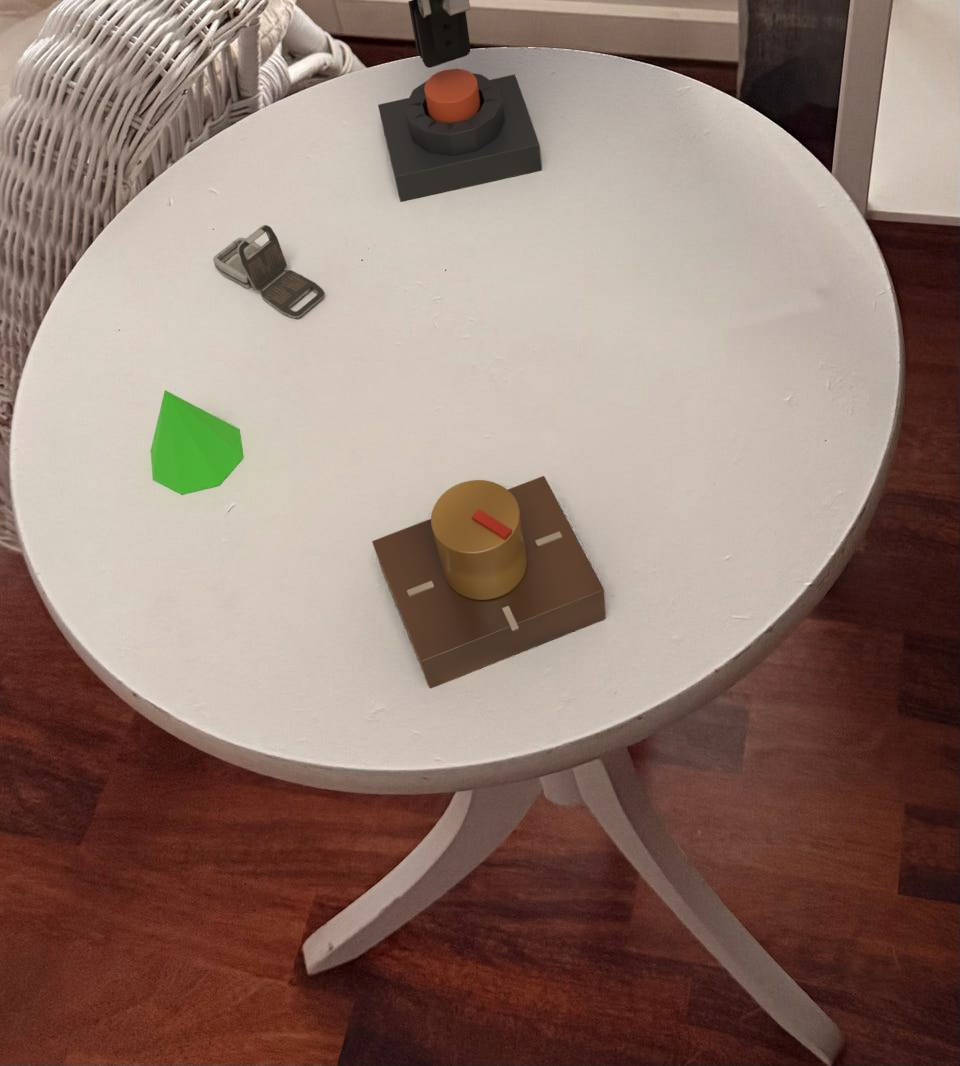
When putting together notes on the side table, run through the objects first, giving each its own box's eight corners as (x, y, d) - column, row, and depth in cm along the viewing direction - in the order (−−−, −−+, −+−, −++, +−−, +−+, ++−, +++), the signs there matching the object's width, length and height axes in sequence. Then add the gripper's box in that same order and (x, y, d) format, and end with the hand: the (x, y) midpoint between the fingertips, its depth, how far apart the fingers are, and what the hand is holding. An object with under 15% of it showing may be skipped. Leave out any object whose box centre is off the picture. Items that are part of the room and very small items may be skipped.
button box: (517, 99, 90) (512, 51, 87) (542, 170, 86) (537, 122, 83) (383, 129, 90) (373, 82, 87) (400, 201, 86) (390, 155, 82)
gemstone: (262, 459, 74) (235, 394, 69) (175, 511, 73) (140, 449, 68) (217, 399, 77) (187, 333, 73) (131, 448, 76) (95, 384, 71)
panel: (545, 502, 70) (541, 469, 68) (608, 623, 66) (606, 592, 63) (380, 566, 69) (369, 534, 67) (431, 693, 65) (422, 665, 62)
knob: (426, 572, 65) (411, 520, 61) (479, 515, 67) (468, 461, 63) (490, 615, 63) (480, 565, 59) (544, 556, 65) (537, 503, 61)
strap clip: (211, 269, 84) (192, 221, 81) (244, 242, 85) (226, 194, 82) (296, 324, 80) (280, 276, 77) (329, 296, 81) (315, 247, 78)
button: (474, 85, 86) (471, 63, 85) (484, 117, 84) (481, 95, 83) (423, 96, 86) (420, 74, 85) (432, 129, 84) (429, 107, 83)
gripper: (294, -279, 70) (356, 12, 85) (376, -159, 62) (429, 139, 77) (418, -316, 71) (458, -21, 86) (516, -203, 63) (540, 101, 78)
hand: (444, 54), depth 82 cm, fingers closed
